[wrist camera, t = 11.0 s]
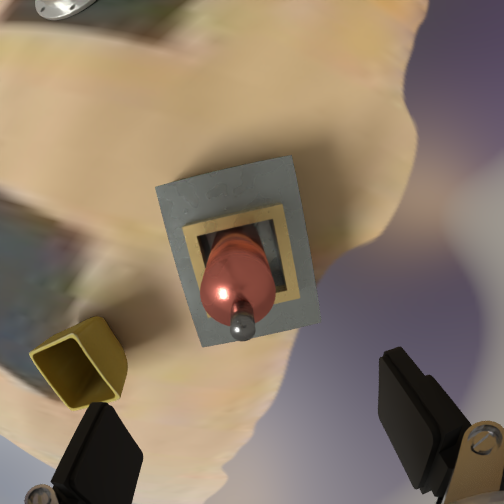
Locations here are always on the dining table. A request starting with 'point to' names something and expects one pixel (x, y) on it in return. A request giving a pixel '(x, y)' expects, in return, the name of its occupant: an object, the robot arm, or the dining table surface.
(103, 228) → the dining table surface
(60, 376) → the flower pot
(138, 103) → the dining table surface
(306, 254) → the grey box with hole
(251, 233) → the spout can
